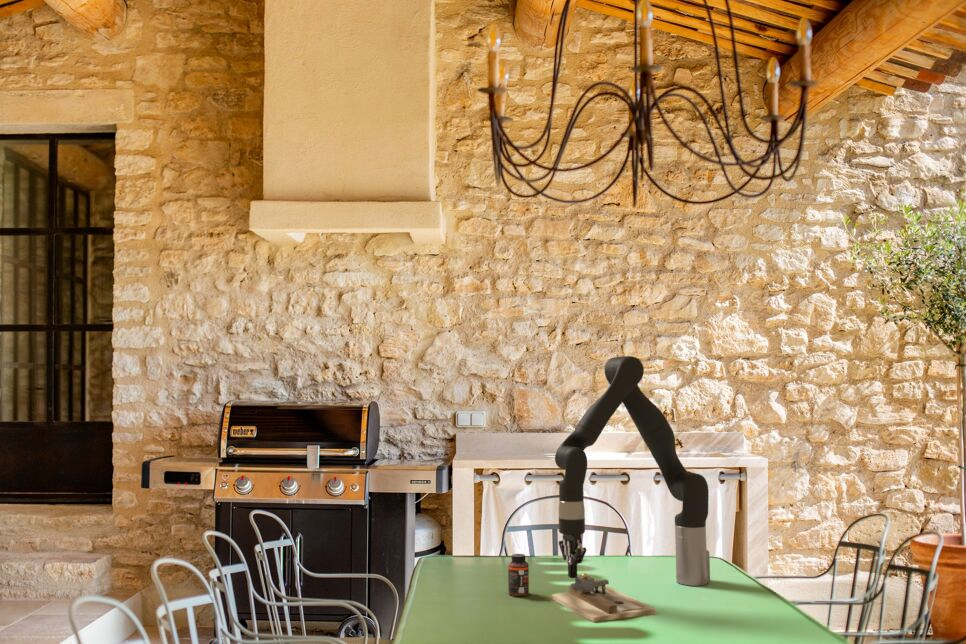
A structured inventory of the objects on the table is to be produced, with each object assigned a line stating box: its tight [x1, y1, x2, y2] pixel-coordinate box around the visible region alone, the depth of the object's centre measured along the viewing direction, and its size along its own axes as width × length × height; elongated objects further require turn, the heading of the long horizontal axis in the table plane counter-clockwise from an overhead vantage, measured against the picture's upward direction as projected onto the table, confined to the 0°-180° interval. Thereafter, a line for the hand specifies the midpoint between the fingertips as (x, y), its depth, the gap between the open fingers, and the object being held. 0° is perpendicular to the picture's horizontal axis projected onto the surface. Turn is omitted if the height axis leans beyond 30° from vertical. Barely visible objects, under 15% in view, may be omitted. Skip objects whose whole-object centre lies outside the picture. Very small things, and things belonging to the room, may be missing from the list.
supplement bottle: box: [507, 553, 530, 598], centre depth 232 cm, size 6×6×11 cm
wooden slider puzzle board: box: [550, 585, 657, 623], centre depth 219 cm, size 19×24×3 cm
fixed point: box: [570, 582, 602, 592], centre depth 227 cm, size 9×2×3 cm, turn 112°
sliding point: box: [574, 573, 610, 595], centre depth 223 cm, size 9×4×6 cm, turn 112°
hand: (572, 577), depth 228 cm, fingers closed
